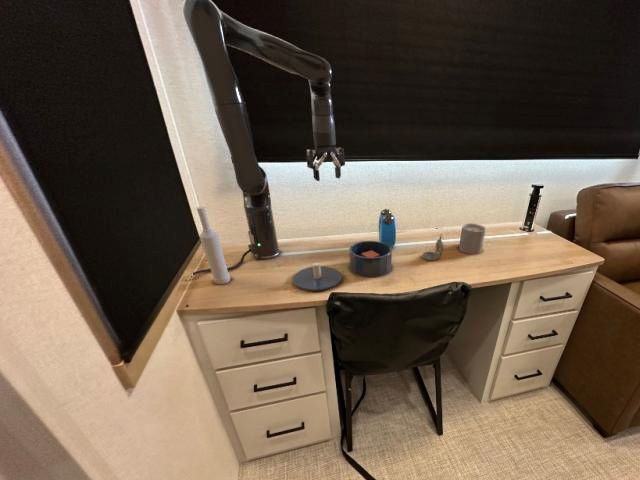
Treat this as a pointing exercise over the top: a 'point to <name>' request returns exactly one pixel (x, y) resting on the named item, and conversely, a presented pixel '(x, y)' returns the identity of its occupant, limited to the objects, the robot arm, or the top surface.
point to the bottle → (213, 250)
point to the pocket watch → (439, 251)
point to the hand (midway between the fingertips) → (327, 179)
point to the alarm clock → (387, 228)
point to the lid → (317, 277)
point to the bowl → (370, 259)
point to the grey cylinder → (472, 238)
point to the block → (370, 254)
